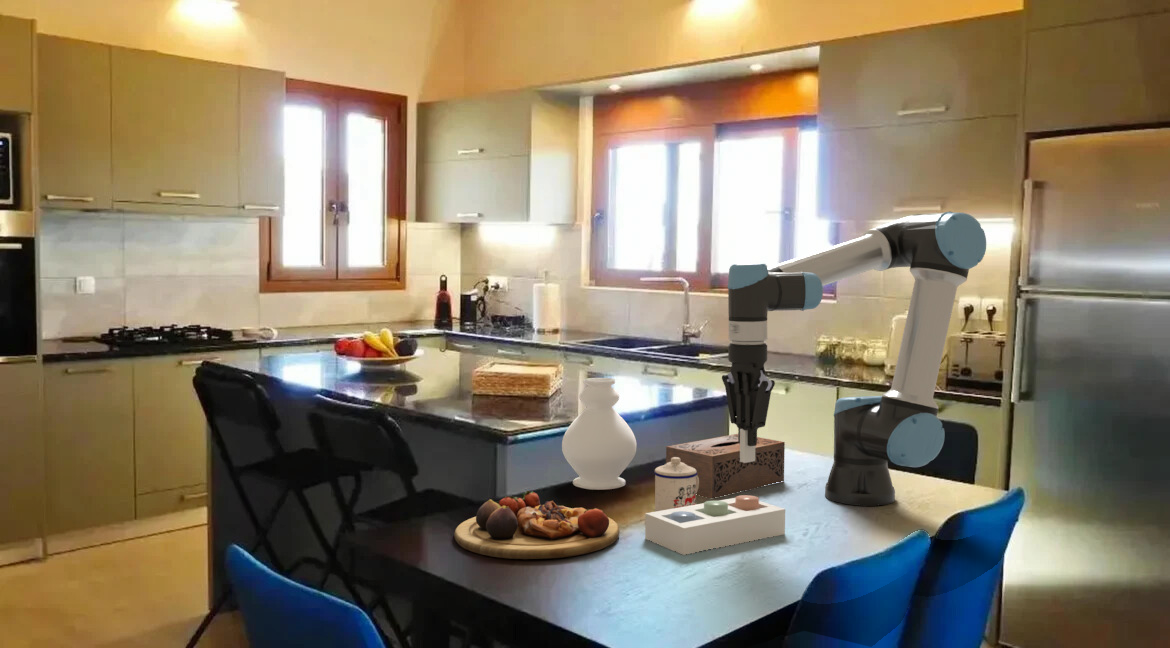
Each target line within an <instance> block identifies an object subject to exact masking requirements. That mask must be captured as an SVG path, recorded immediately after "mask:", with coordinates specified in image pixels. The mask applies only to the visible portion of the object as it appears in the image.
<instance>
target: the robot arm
mask: <svg viewBox="0 0 1170 648" xmlns="http://www.w3.org/2000/svg"><path fill="white" fill-rule="evenodd" d="M985 233H986V232H985V230H984V229H983V228H982V226H981V223H980V222H979V221H978V219H976V218H975V217H974V216H972V215H971V214H968V213H966V212H953V211H945V212H937V213H923V214H922V213H915V214H912V215H911V214H910V215H907V216H904V217H903V216H902V217H901V218H898V219H896V220H892V221H889V222H888V223H885V224H882V225H879V226H876V227H874V228H870V229H868V230H866V231H865V232H864V233H863V235H862V236H861V237H858V238H855V239H851V240H848V241H846V242H842V243H839V244H836V245H833V246H829V247H826V248H824V249H820V250H818V251H817V250H816V251H814V252H812V253H809V254H806V255H802V256H799V257H796V258H793V259H790V260H787V261H783V262H781V263H778V264H774V265H772V266H768V265H767V264H766V263H762V262H761V263H758V262H756V263H734V264H731V266H730V267H729V270H728V278H727V279H728V281H727V289H728V290H727V291H728V293H727V295H728V298H727V299H728V301H727V303H728V309H727V310H728V341H730V342H731V343H729V344H728V345H727V346H728V347H727V348H728V353H727V355H728V356H727V357H728V358H727V360H728V362H729V363H731V366H730V371H729V373H727V374H723V375H722V376H721V381H722V383H723V385H724V387H725V395H726V399H727V400H726V401H727V408H728V413H729V420H730V423H731V424H733V425H736V427H737V431H738V432H737V434H738V441H739V444H740V462H743V463H747V462H753V461H755V446H756V445H757V437H758V429H760V428H764V427H765V426H766V423H767V417H768V411H769V405H770V399H771V393H772V391H773V389H774V387H775V384H776V383H775V380H774V379H769V377H767V376H766V374H767V373H766V370H765V363H766V362H767V361H768V344H767V343H765V342H766V341H767V340H768V314H769V312H774V311H775V312H777V311H778V312H780V311H781V312H782V311H803V312H804V311H807V310H814V309H816V308H818V307H819V305H820V304H821V302H822V300H823V296H824V295H823V294H824V293H823V289H824V286H827V285H829V284H834V283H836V282H839V281H842V280H844V279H847V278H851V277H854V276H857V275H860V274H863V273H866V272H869V271H871V270H875V271H877V272H883V271H886V270H889V269H894V268H909V267H910V268H909V272H910V274H911V275H912V277H913V278H914V283H913V289H912V292H911V297H910V301H909V302H910V303H909V306H908V310H907V315H906V320H905V324H904V325H905V326H904V328H903V333H902V338H901V341H900V342H901V343H900V347H899V352H898V356H897V360H896V363H895V365H896V366H895V369H894V373H893V378H892V382H891V383H892V384H891V388H890V389H889V390H888V391H885V392H884V393H883V394H882V395H870V396H869V395H865V396H846V397H840V398H838V399H837V400H836V402H835V404H834V411H833V417H834V418H833V420H834V421H833V423H834V424H833V464H832V466H831V469H830V472H829V475H828V479H827V482H826V483H825V487H824V488H825V490H824V492H825V493H824V496H825V498H826V499H828V500H830V501H833V502H837V503H840V504H846V505H851V506H863V507H864V506H865V507H867V506H869V507H873V506H874V507H875V506H884V505H889V504H892V503H894V502H895V499H896V498H895V497H896V490H895V487H894V486H893V483H892V478H891V474H890V471H889V470H890V469H889V466H888V462H891V463H893V464H895V465H897V466H901V467H910V468H920V467H923V466H926V465H928V464H929V463H930V462H931V461H933V460H934V459H936V458H937V457H938V456H939V454H940V452H941V450H942V448H943V447H944V442H945V437H946V436H945V434H946V433H945V428H944V427H943V423H942V421H941V420H940V419H939V418H938V413H939V406H938V404H937V402H936V401H935V399H934V395H935V390H936V385H937V381H938V376H939V371H940V368H941V363H942V359H943V354H944V353H943V352H944V349H945V345H946V340H947V337H948V336H947V335H948V331H949V326H950V322H951V318H952V313H953V309H954V303H955V299H956V294H957V291H958V288H959V286H961V285H962V284H964V283H966V282H967V280H968V276H969V271H970V269H972V268H974V267H977V266H978V265H979V263H981V262H982V260H983V259H984V257H985V254H986V252H987V238H986V234H985Z"/></svg>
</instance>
